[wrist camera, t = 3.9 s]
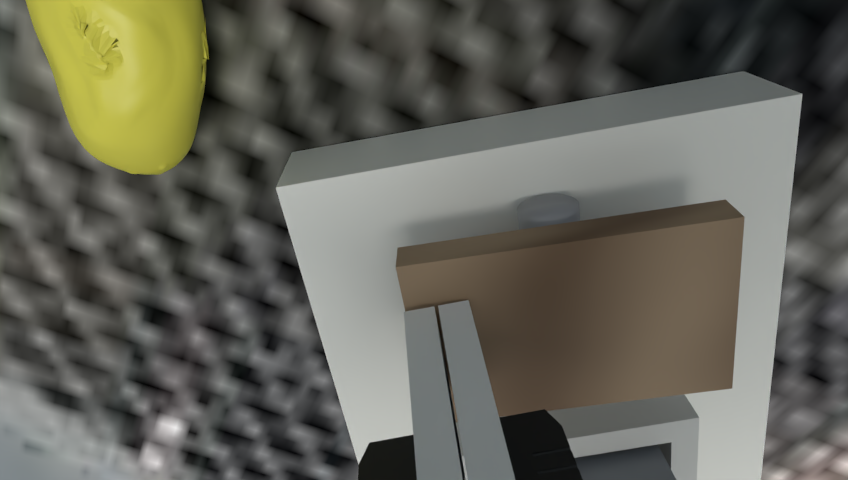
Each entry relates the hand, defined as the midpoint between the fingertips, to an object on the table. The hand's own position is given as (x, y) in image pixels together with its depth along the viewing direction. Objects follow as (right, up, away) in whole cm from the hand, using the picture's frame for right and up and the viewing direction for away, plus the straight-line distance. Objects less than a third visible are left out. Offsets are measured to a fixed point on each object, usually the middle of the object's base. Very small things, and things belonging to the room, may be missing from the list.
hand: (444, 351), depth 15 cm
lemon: (-8, +9, +2) cm, 13 cm away
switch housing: (+4, -4, +9) cm, 11 cm away
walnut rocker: (+3, +1, +1) cm, 3 cm away
